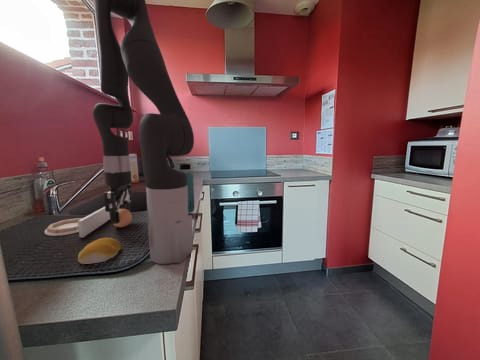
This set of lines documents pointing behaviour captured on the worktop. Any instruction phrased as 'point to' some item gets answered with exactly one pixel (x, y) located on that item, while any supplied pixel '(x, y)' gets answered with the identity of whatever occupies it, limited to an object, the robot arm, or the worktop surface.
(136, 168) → the cracker box
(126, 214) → the ball
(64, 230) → the saucer
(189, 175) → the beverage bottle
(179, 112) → the robot arm
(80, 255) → the bread roll
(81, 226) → the wall
